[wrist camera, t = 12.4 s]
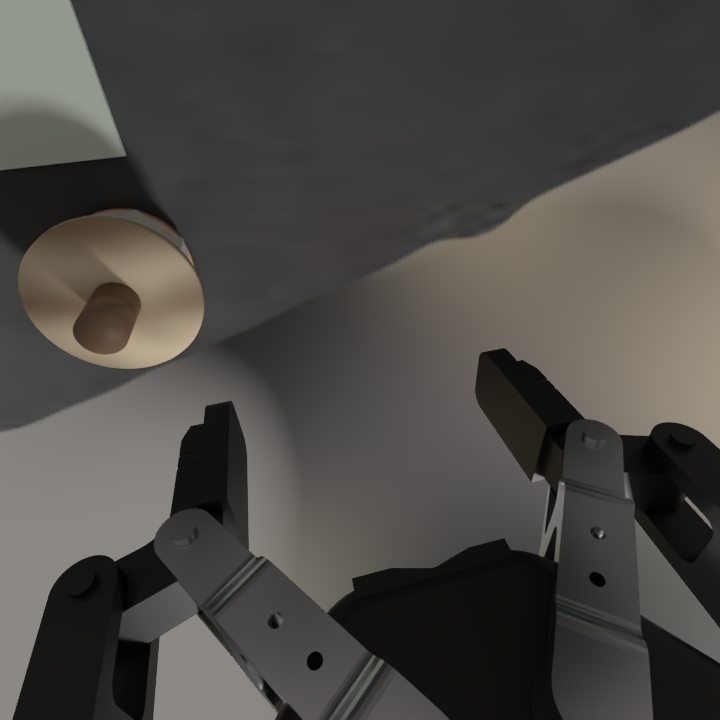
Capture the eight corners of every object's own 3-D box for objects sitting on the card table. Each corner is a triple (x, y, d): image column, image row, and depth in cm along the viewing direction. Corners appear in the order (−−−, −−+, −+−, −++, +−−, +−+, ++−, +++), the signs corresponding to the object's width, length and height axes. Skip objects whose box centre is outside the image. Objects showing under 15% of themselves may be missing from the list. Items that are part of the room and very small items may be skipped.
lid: (-14, 229, 28) (-61, 261, 23) (176, 204, 30) (166, 230, 25) (71, 373, 35) (47, 419, 31) (221, 347, 37) (219, 386, 32)
